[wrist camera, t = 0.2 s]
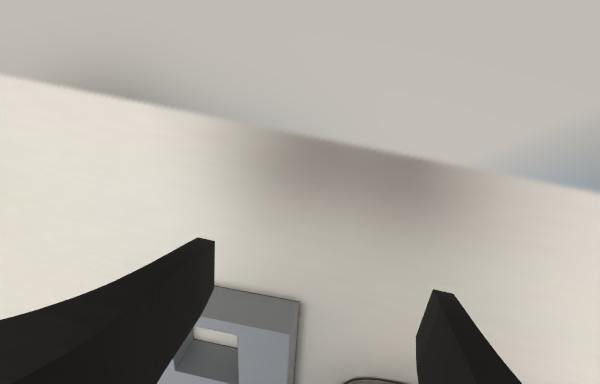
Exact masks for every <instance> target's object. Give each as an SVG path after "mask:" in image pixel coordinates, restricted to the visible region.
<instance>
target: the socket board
mask: <svg viewBox="0 0 600 384" xmlns="http://www.w3.org/2000/svg"><path fill="white" fill-rule="evenodd" d="M298 314H299V302H296V301H291V300H286V299H280V298H275V297H270V296H264V295H259V294H254V293H248V292H243V291H238V290H233V289H227V288H222V287H217V286H214V290H213V292H212V294H211V296H210V298H209V300H208V303H207V305H206V307H205V309H204V311H203V313H202V315H201V316H200V318H199V319H198V321H197V322H196V324H195V325H194V326H196V327H201V328H206V329H210V330H215V331H220V332H225V333H230V334H234V335H237V336H238V349H236V348H232V347H227V346H222V345H218V344H213V343H208V342H204V341H199V340H195V339H194V337H193V329H192V330H191V332H190V333H189V335H188V336H187V338H186V339H185V341H184V342H183V344H182V345H181V347H180V348H179V350H178V351H177V353H176V354H175V356H174V357H173V359H172V361H171V362H170V364H169V365H168V367H167V368H166V370H165V371H164V373H163V374H162V376H161V378H160V379H159V381H158V383H157V384H294V371H295V357H296V343H297V328H298Z"/></svg>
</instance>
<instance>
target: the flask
mask: <svg viewBox="0 0 600 384" xmlns="http://www.w3.org/2000/svg"><path fill="white" fill-rule="evenodd" d="M347 384H397V383H392V382H387V381H381V380H369V379H364V380H354V381H352V382H350V383H347Z"/></svg>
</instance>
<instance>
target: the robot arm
mask: <svg viewBox="0 0 600 384" xmlns="http://www.w3.org/2000/svg"><path fill="white" fill-rule="evenodd" d="M214 258H215V241H211V240H207V239H202V238H196V239H194V240H192V241H190V242H188V243H186V244H185V245H183V246H181V247H179V248H177V249H176V250H174V251H172V252H170V253H169V254H167V255H165V256H163V257H161V258H159V259H157V260H156V261H154V262H152V263H150V264H148V265H146V266H144V267H142V268H140V269H138V270H136V271H134V272H132V273H130V274H128V275H126V276H124V277H122V278H120V279H118V280H116V281H114V282H111V283H109V284H107V285H104V286H102V287H100V288H97V289H95V290H92V291H90V292H87V293H85V294H82V295H80V296H77V297H74V298H71V299H68V300H65V301H62V302H59V303H56V304H53V305H50V306H47V307H44V308H41V309H38V310H35V311H32V312H28V313H25V314H21V315H17V316H14V317H10V318H6V319H2V320H0V384H157V383H158V381H159V379H160V378H161V376H162V374H163V373H164V371H165V370H166V368H167V367H168V365H169V364H170V362H171V361H172V359H173V357H174V356H175V354H176V353H177V351H178V350H179V348H180V347H181V345H182V344H183V342H184V341H185V339H186V338H187V336H188V335H189V333H190V332H191V330H192V329H193V327H194V325H195V324H196V322H197V321H198V319H199V318H200V316H201V315H202V313H203V311H204V309H205V307H206V305H207V303H208V300H209V298H210V296H211V294H212V292H213V290H214ZM416 364H417V375H418V382H419V384H522V383H521V382H520V381H519V380H518V378H517V377H516V376H515V375H514V374H513V372H512V371H511V370H510V369H509V368H508V366H507V365H506V364H505V363H504V362H503V360H502V359H501V358H500V357H499V355H498V354H497V353H496V352H495V350H494V349H493V348H492V346H491V345H490V344H489V342H488V341H487V340H486V338H485V337H484V336H483V334H482V333H481V332H480V330H479V329H478V328H477V326H476V325H475V323H474V322H473V321H472V319H471V318H470V316H469V315H468V314H467V312H466V311H465V309H464V308H463V307H462V305H461V304H460V302H459V301H458V300H457V298H456V297H455V295H454V294H452V293H447V292H443V291H438V290H434V289H433V291H432V294H431V296H430V299H429V302H428V305H427V307H426V310H425V313H424V316H423V319H422V321H421V324H420V327H419V330H418V333H417V335H416Z"/></svg>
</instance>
